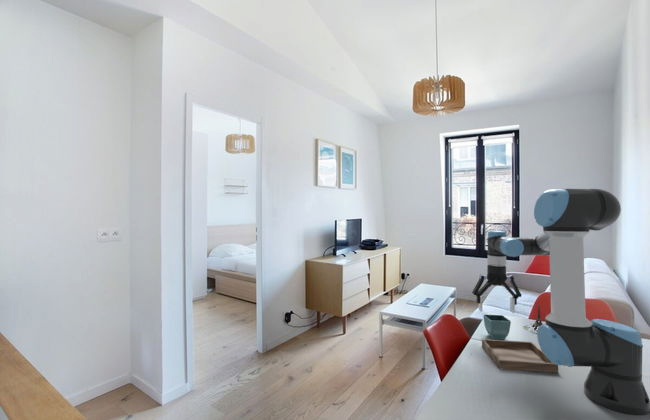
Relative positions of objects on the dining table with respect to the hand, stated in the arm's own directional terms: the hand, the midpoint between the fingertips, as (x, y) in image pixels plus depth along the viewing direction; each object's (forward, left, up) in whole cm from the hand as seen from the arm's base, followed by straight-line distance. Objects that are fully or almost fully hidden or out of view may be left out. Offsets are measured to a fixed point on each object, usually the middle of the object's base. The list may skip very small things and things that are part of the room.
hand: (496, 311), depth 148 cm
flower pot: (0, 0, -12) cm, 12 cm away
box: (-21, 0, -12) cm, 24 cm away
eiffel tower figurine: (+14, -24, -13) cm, 30 cm away
